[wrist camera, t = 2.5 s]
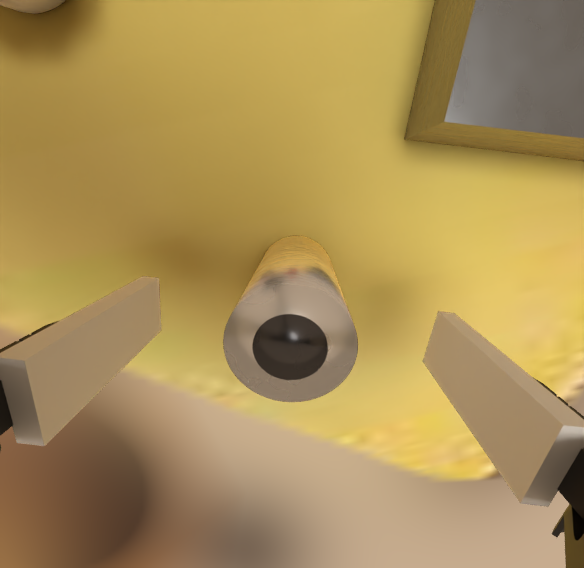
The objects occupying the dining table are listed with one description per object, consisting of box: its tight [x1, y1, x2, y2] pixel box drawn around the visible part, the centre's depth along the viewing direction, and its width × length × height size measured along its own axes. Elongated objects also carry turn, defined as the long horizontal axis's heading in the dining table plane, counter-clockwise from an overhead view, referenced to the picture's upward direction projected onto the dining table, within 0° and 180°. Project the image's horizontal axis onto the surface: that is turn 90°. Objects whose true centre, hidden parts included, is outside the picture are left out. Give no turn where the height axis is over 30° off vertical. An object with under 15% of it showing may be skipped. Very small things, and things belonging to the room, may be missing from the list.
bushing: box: [223, 236, 358, 402], centre depth 15 cm, size 5×5×10 cm
